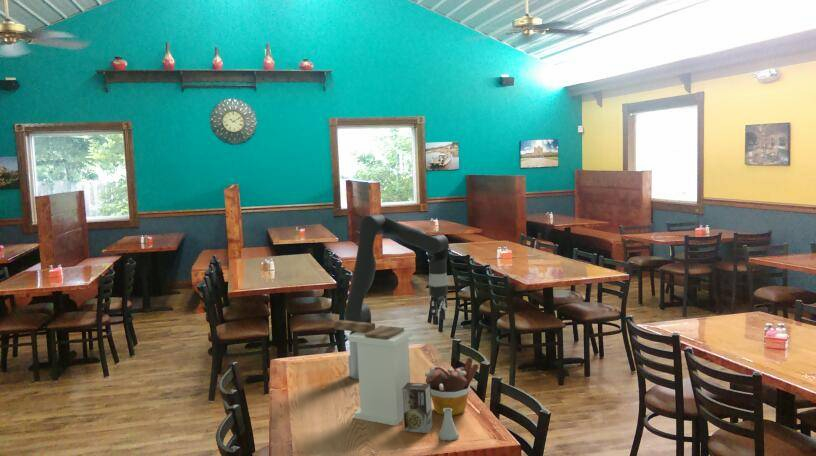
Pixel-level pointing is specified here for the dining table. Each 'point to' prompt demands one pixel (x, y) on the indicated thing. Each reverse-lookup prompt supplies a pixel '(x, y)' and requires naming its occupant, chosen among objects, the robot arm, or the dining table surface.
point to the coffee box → (417, 407)
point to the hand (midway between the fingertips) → (439, 322)
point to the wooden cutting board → (368, 328)
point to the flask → (448, 427)
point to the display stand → (382, 376)
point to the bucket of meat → (450, 387)
